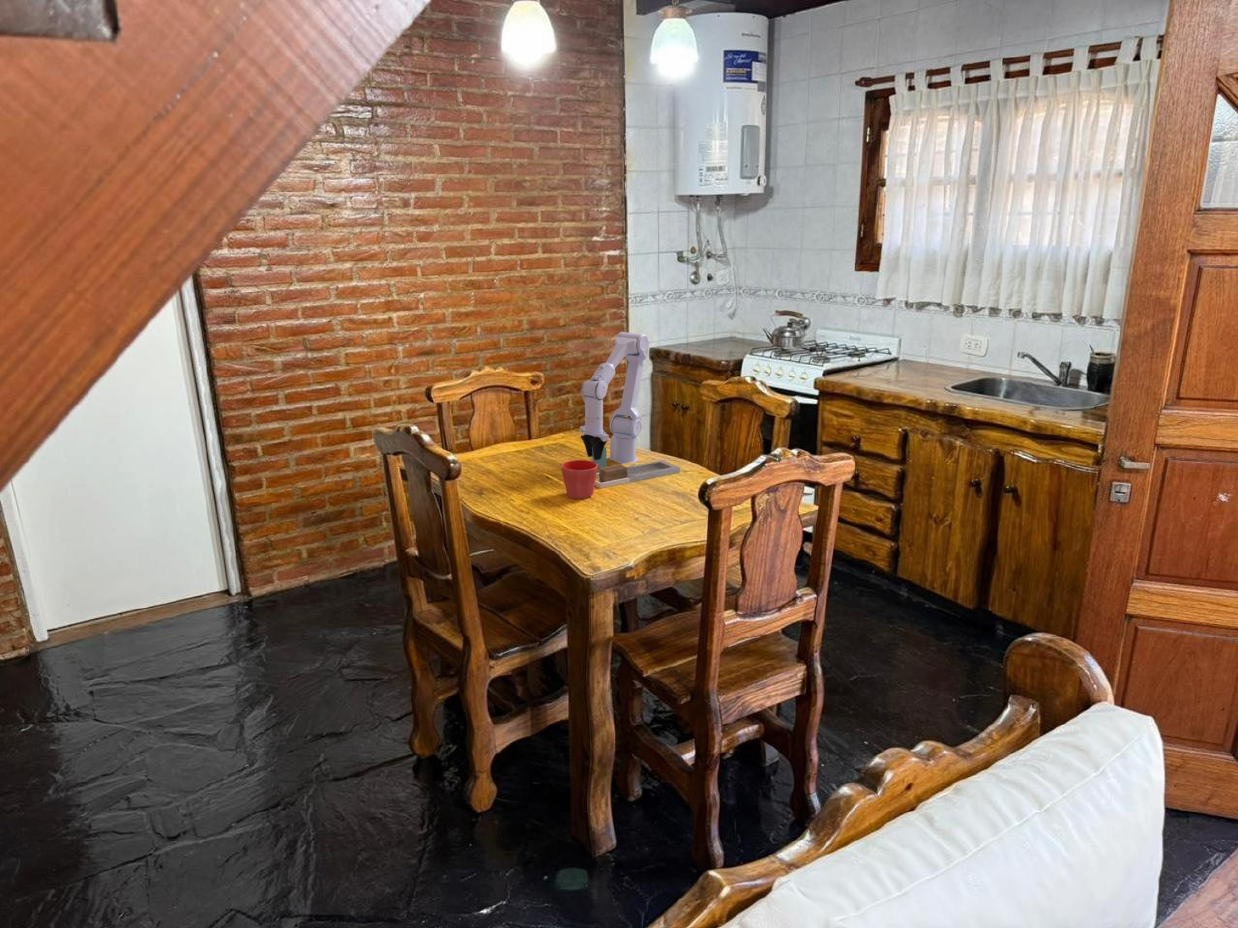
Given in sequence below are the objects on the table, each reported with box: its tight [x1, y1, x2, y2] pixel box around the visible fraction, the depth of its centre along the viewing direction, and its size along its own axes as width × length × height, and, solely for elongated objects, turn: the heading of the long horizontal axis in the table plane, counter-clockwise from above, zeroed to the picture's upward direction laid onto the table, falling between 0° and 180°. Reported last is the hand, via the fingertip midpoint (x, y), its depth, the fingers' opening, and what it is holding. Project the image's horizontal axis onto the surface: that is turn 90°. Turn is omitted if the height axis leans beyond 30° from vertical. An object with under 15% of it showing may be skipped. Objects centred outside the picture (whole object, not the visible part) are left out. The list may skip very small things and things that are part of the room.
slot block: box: [626, 459, 681, 483], centre depth 273 cm, size 10×20×2 cm, turn 123°
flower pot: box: [561, 459, 598, 500], centre depth 252 cm, size 11×11×10 cm
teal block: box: [589, 445, 608, 470], centre depth 273 cm, size 6×5×6 cm
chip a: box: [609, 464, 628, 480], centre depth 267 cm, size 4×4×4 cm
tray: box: [594, 472, 631, 489], centre depth 265 cm, size 10×11×2 cm
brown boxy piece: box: [598, 466, 617, 483], centre depth 265 cm, size 4×4×4 cm
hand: (594, 457), depth 272 cm, fingers closed on teal block, 4 cm apart
